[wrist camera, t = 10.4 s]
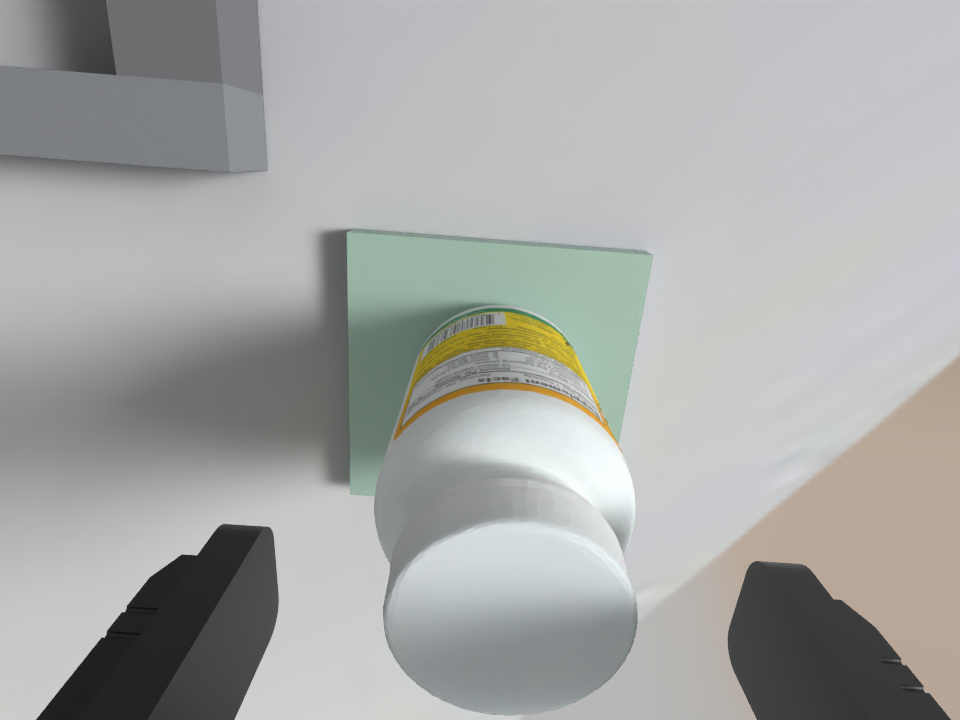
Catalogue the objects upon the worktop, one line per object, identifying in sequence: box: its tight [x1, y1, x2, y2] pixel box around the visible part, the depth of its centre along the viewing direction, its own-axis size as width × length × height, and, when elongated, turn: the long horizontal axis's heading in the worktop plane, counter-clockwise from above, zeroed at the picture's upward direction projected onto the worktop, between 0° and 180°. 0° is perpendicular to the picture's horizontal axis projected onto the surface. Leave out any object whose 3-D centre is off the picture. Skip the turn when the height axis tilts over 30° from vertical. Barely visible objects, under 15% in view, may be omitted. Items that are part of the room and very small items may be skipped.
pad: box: [347, 229, 653, 496], centre depth 18 cm, size 9×9×1 cm
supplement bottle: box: [374, 305, 637, 715], centre depth 13 cm, size 5×5×10 cm
